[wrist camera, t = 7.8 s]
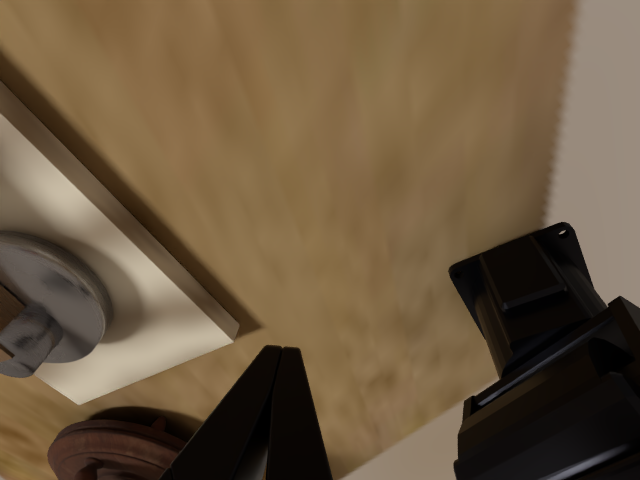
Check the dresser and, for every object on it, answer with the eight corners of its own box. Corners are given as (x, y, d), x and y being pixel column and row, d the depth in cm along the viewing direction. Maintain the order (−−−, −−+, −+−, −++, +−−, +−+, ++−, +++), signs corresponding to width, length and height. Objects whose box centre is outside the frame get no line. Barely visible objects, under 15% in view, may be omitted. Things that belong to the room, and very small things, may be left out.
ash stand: (239, 324, 26) (232, 345, 25) (89, 388, 32) (76, 408, 31) (-77, 1, 17) (-120, 4, 15) (-212, 173, 23) (-252, 187, 21)
